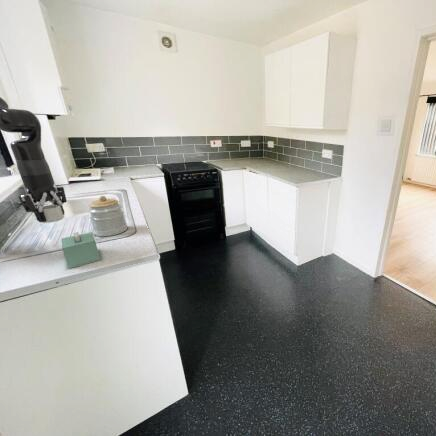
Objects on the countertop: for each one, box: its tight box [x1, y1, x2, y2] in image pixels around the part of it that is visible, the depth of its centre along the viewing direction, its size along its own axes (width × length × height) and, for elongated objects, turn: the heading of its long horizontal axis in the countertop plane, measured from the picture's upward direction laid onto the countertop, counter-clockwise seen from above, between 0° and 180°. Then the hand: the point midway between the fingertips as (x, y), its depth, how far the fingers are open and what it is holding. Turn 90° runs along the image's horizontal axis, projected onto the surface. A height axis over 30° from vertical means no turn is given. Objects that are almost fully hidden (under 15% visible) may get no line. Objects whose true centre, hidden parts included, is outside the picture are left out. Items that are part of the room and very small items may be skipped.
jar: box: [87, 195, 128, 237], centre depth 114 cm, size 13×13×18 cm
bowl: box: [37, 204, 65, 224], centre depth 88 cm, size 6×6×5 cm
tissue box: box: [61, 231, 102, 269], centre depth 91 cm, size 9×11×10 cm
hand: (52, 218), depth 89 cm, fingers closed on bowl, 6 cm apart
